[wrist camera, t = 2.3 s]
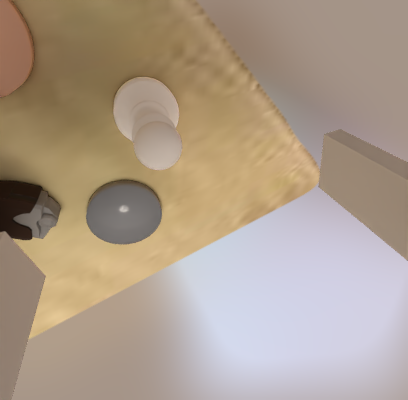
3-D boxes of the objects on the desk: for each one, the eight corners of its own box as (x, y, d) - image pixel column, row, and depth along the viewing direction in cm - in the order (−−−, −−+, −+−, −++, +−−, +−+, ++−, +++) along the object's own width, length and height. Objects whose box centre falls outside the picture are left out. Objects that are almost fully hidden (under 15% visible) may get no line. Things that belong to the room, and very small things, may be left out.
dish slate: (73, 193, 24) (72, 200, 23) (148, 171, 24) (149, 177, 23) (104, 244, 28) (104, 252, 27) (167, 224, 29) (169, 231, 28)
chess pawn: (136, 148, 23) (146, 207, 16) (99, 96, 20) (91, 140, 13) (185, 120, 23) (218, 168, 16) (156, 63, 20) (180, 90, 13)
